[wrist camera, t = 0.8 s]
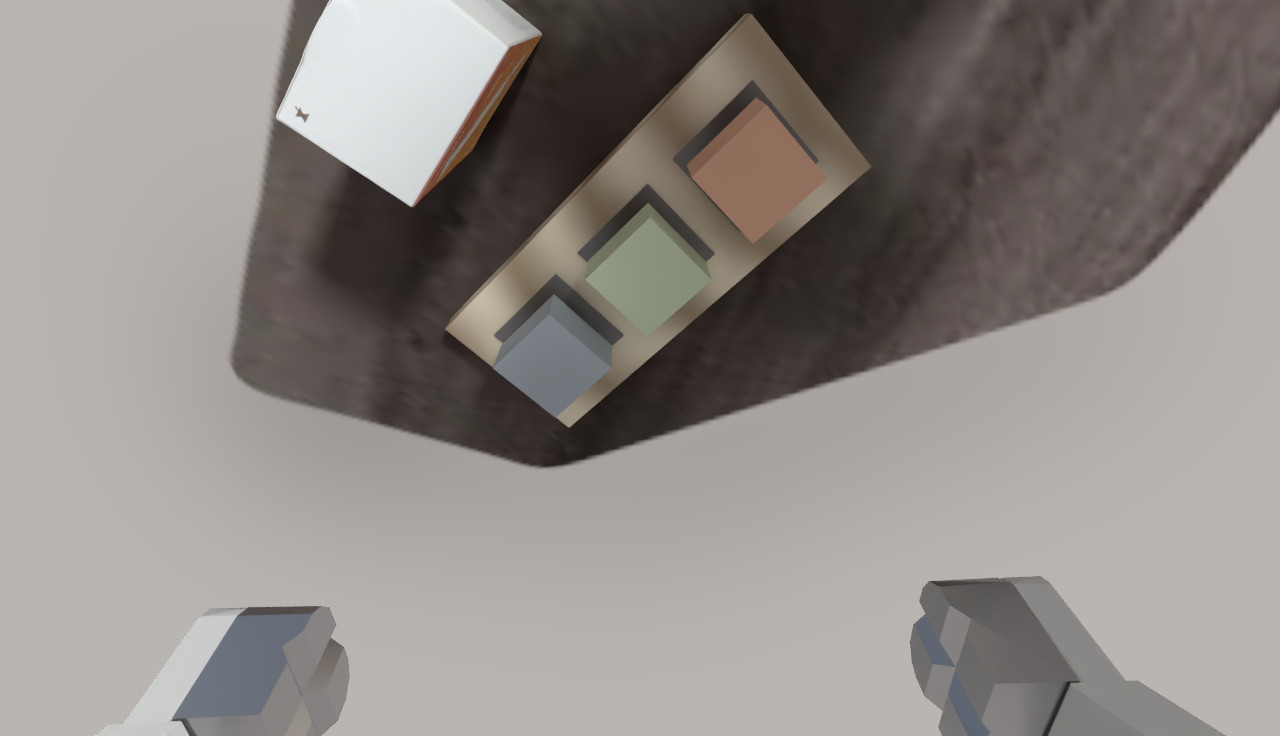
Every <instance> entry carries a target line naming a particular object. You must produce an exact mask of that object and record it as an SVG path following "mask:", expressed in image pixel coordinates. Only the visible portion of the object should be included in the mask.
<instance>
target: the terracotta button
mask: <svg viewBox="0 0 1280 736" xmlns="http://www.w3.org/2000/svg"><path fill="white" fill-rule="evenodd" d="M687 167H688V169H689V172H690V175H691V177H692V179H693V180H694V181H695V182H696V183H697V184H698V185H699V186H700V187H701V188H702V189H703V190H704V191H705V193H706V194H707V195H708V196H709V197H710V198H711V199H712V200H713V201H714V202H715V203H716V204H717V206H718V207H719V208H720V209H721V210H722V211H723V212H724V213H725V214H726V215H727V216H728V217H729V218H730V220H731V221H732V222H733V223H734V224H735V225H736V226H737V227H738V228H739V229H740V230H741V231H742V233H743V234H744V235H745V236H746V237H747V238H748V239H749V240H750V241H751V242H752V243H753V244H754V243H755V242H756V241H757V240H758V239H759V238H760V237H762V236H763V235H764V234H765V233H766V232H767V231H768V230H770V229H771V228H772V227H773V226H774V225H775V224H776V223H777V222H779V221H780V220H781V219H782V218H783V217H784V216H785V215H787V214H788V213H789V212H790V211H791V210H792V209H793V208H795V207H796V206H797V205H798V204H799V203H800V202H801V201H802V200H804V199H805V198H806V197H807V196H808V195H809V194H810V193H812V192H813V191H814V190H815V189H816V188H817V187H818V186H820V185H821V184H822V183H823V182H824V181H825V180H826V179H827V178H826V176H825V175H824V174H823V173H822V171H821V170H820V169H819V168H818V167H817V165H816V164H815V163H814V162H813V161H812V159H811V158H810V157H809V156H808V154H807V153H806V152H805V151H804V150H803V148H802V147H801V146H800V145H799V144H798V142H797V141H796V140H795V139H794V137H793V136H792V135H791V134H790V133H789V131H788V130H787V129H786V128H785V127H784V125H783V124H782V123H781V122H780V121H779V119H778V118H777V117H776V116H775V114H774V113H773V112H772V111H771V110H770V108H769V107H768V106H767V105H766V104H765V103H763V102H762V101H760V100H759V99H758V98H755V99H754V100H753V101H752V102H751V103H750V104H749V105H748V106H747V107H746V108H745V109H744V110H743V111H742V112H741V113H740V114H739V115H738V116H737V117H736V118H735V119H734V120H733V121H732V122H731V123H730V124H729V125H727V126H726V127H725V128H724V129H723V130H722V131H721V132H720V133H719V134H718V135H717V136H716V137H715V138H714V139H713V140H712V141H711V142H710V143H709V144H708V145H707V146H706V147H705V148H704V149H703V150H702V151H701V152H700V153H699V154H698V155H697V156H696V157H695V158H694V159H692V160H691V161H690V162H689V163H688V164H687Z"/></svg>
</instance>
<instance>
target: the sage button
mask: <svg viewBox="0 0 1280 736" xmlns="http://www.w3.org/2000/svg"><path fill="white" fill-rule="evenodd" d="M585 280H586V281H587V282H588V283H589V284H590V285H591V286H592V287H594V288H595V289H596V290H597V291H598V292H599V293H600V294H601V295H602V296H603V297H604V298H606V299H607V300H608V301H609V302H610V303H611V304H612V305H613V306H614V307H615V308H616V309H618V310H619V311H620V312H621V313H622V314H623V315H624V316H625V317H626V318H627V319H628V320H630V321H631V322H632V323H633V324H634V325H635V326H636V327H637V328H638V329H639V330H640V331H642V332H643V333H644V334H645V335H646V336H647V337H648V336H649V335H650V334H651V333H652V332H653V331H655V330H656V329H657V328H658V327H659V326H660V325H661V324H663V323H664V322H665V321H666V320H667V319H668V318H669V317H671V316H672V315H673V314H674V313H675V312H676V311H677V310H679V309H680V308H681V307H682V306H683V305H684V304H685V303H686V302H688V301H689V300H690V299H691V298H692V297H693V296H694V295H696V294H697V293H698V292H699V291H700V290H701V289H702V288H704V287H705V286H706V285H707V284H708V283H709V282H710V281H711V276H710V273H709V270H708V267H707V263H706V261H705V260H704V259H703V258H702V257H701V256H700V255H699V254H698V253H697V252H696V251H695V250H694V249H693V248H692V247H691V246H690V245H689V244H688V243H687V242H686V241H685V240H684V239H683V238H682V237H681V236H680V235H679V234H678V233H677V232H676V231H675V230H674V229H673V228H672V227H671V226H670V225H669V223H668V222H667V221H666V220H665V219H664V218H663V217H662V216H661V215H660V214H659V213H658V212H657V211H656V210H655V209H654V208H653V207H652V206H651V205H650V204H649V203H647V204H646V205H645V206H644V207H643V208H642V209H641V210H640V211H639V212H638V213H637V214H636V215H635V216H634V217H633V218H632V219H631V220H630V221H629V222H628V223H627V224H626V225H625V226H624V227H623V228H621V229H620V230H619V231H618V232H617V233H616V234H615V235H614V236H613V237H612V238H611V239H610V240H609V241H608V242H607V243H606V244H605V245H604V246H603V247H602V248H601V249H600V250H599V251H598V252H597V253H596V254H595V255H594V256H593V257H592V258H591V259H590V260H589V261H588V263H587V270H586V277H585Z"/></svg>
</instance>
